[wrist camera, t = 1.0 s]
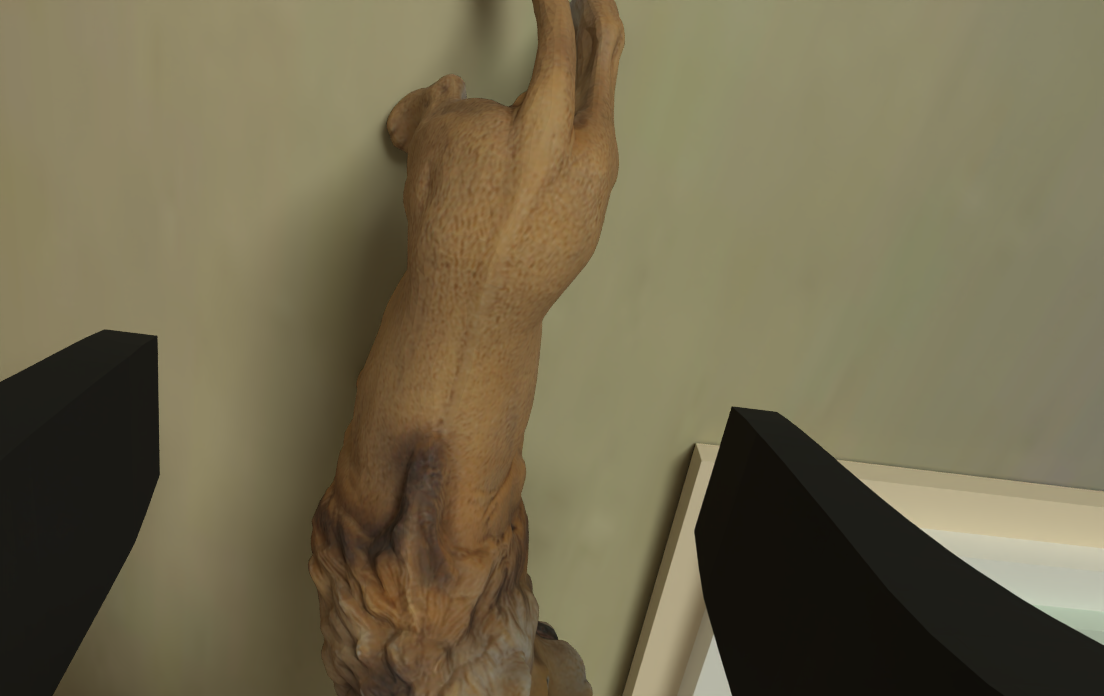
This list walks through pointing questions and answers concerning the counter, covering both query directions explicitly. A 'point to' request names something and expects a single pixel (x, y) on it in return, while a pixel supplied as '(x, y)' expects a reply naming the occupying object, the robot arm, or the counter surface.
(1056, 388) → the counter surface
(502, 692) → the lion figurine
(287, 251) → the counter surface
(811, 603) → the robot arm
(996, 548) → the picture frame
